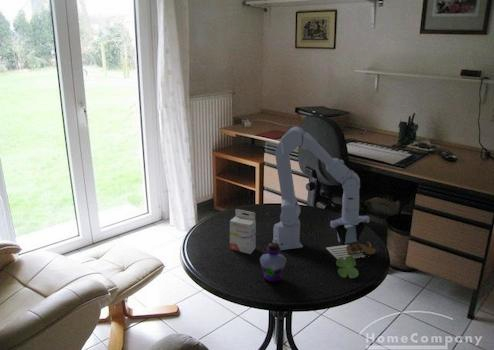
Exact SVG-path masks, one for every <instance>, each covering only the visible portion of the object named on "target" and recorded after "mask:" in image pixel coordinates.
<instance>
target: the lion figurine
mask: <svg viewBox="0 0 494 350" xmlns="http://www.w3.org/2000/svg"><path fill="white" fill-rule="evenodd" d="M366 244H367V245H368V246H367V245H365V244H362V243H360V242H359V241H358V242H351V243H348V244H347V245H348V246H347V247H346V249H347V254H350V253H352V254H354V253H355V252H356V251H361V252H365V253H366V254H368V255H369V256H370V255H373V254H375V253H376V251H377V249H379V248H380V247H379V246H376V247H375V248H373V247H372V244H371V242H370V241H368V240H367V242H366Z"/></svg>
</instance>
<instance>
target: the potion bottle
mask: <svg viewBox="0 0 494 350" xmlns="http://www.w3.org/2000/svg"><path fill="white" fill-rule="evenodd" d="M265 252H266V253H264V254H262V255H261V256H260V258H259V262H260V267H261V269H262V271H263V276H264V277H263V278H264V281H266V283H272V284H275V283H279V282H280V281H281V280H282V276H283V272H284V268H285V266H286V264H287V261H288V259H287V257H285V256H284V255H283V254H281V250H280V247H279V244H278V243H273V242H269V243H268V246H266V251H265Z"/></svg>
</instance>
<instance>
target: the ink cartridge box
mask: <svg viewBox="0 0 494 350" xmlns="http://www.w3.org/2000/svg"><path fill="white" fill-rule="evenodd" d="M234 211H235V216H234V217H233V218H231V219H230V220H229V250H232V251H236V252H241V253H244V254H249V255H251V254H252V253H253V252H254V250H255V249H256V240H257V239H256V238H257V237H256V233H257V230H256V226H257V225H256V223H257V220H256V212H254V211H249V210H243V209H238V208H235V210H234ZM246 214H247V215H246Z"/></svg>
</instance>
